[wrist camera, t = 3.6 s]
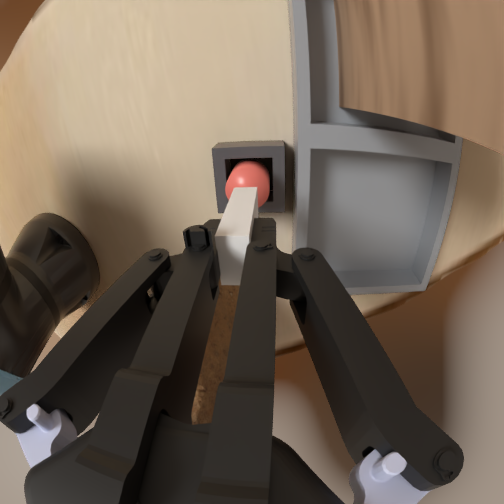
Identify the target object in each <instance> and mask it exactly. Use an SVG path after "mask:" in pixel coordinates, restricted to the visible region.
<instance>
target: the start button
mask: <svg viewBox="0 0 504 504" xmlns="http://www.w3.org/2000/svg"><path fill="white" fill-rule="evenodd" d="M269 181H270V176H269V172H268V169H267V168H266V166H265V165H264V164H263V163H262V162H260V161H258V160H255V159H246V160H242V161H240V162H239V163H237V164H236V165H235V167H234V168H233V170H232V172H231V174H230V176H229V178H228V180H227V182H226V186H225V192H226V196H227V198H228V200H229V199H230V197H231V194H232V192H233V189H234V188H235V187H257V192H258V208H259V207H260V206H262V205H263V204H264V203H265V202H266V200H267V198H268V196H269Z"/></svg>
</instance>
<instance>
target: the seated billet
mask: <svg viewBox="0 0 504 504" xmlns="http://www.w3.org/2000/svg"><path fill="white" fill-rule="evenodd" d="M334 10H335V20H336V32H337V48H338V70H339V107H345V108H351V109H357V110H362V111H368V112H373V113H378V114H382V115H387V116H391V117H395V118H400V119H404V120H407V121H411V122H415V123H418V124H422V125H425V126H429V127H432V128H435V129H438V130H442V131H445V132H448V133H450V134H453V135H456V136H459V137H462V138H464V139H467V140H470V141H472V142H475V143H477V144H479V145H482V146H484V147H487V148H489V149H491V150H493V151H496V152H498V153H500V154H502V155H504V0H334Z"/></svg>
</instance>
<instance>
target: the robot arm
mask: <svg viewBox="0 0 504 504" xmlns="http://www.w3.org/2000/svg"><path fill="white" fill-rule="evenodd" d="M183 236H184V241H185V247H186V248H185V250H184V252H183V254H179V255H174V256H169V252H168V251H167V250H165V249H159V248H158V249H153V250H151V251H148V252H147V253H146V254H144V255H143V256H142V257H141V258H140V259H139V260H138V261H137V262H136V263H135V264H134V265H132V266H131V267H130V268H129V269H128V270H127V271H126V272H125V273H124V274H123V275H122V276H121V277H120V278H119V279H118V280H117V281H116V282H115V283H114V284H113V285H112V286H111V287H110V288H109V289H108V290H107V291H106V292H105V293H104V294H103V295H102V296H101V297H100V298H99V299H98V300H97V301H96V302H95V303H94V304H93V305H92V306H91V307H90V308H89V309H88V310H87V311H86V312H85V313H84V314H83V316H82V317H81V318H80V319H79V320H78V321H77V322H76V323H75V324H74V325H73V326H72V327H71V328H70V330H69V331H68V332H67V333H66V334H65V335H64V336H63V337H62V338H61V340H60V341H59V342H58V343H57V344H56V345H55V346H54V348H53V349H52V350H51V351H50V352H49V353H48V355H47V356H46V357H45V358H44V359H43V361H42V362H41V363H40V364H39V365H38V367H37V368H36V369H35V370H34V371H33V372H32V373H30V372H31V370H32V368H33V367H34V365H35V363H36V361H37V359H38V357H39V356H40V354H41V352H42V350H43V349H44V347H45V345H46V343H47V341H48V340H49V338H50V337H51V335H52V333H53V332H54V330H55V329H56V327H57V326H58V324H59V323H60V321H61V320H62V319H64V318H65V317H67V316H68V315H70V314H71V313H73V312H74V311H75V310H77V309H78V308H80V307H81V306H83V305H84V304H86V303H87V302H88V301H89V300H90V299H91V297H92V296H93V294H94V293H95V291H96V290H97V288H98V285H99V269H98V265H97V262H96V259H95V256H94V254H93V252H92V250H91V248H90V247H89V245H88V243H87V242H86V240H85V239H84V238H83V236H82V235H81V234H80V233H79V232H78V230H77V229H76V228H75V227H74V226H72V225H71V224H70V223H69V222H68V221H66V220H65V219H63V218H61V217H59V216H57V215H55V214H51V213H42V214H39V215H37V216H35V217H34V218H33V219H31V220H30V221H29V222H28V223H27V224H26V225H25V226H24V227H23V229H22V230H21V232H20V234H19V235H18V237H17V239H16V241H15V243H14V244H13V246H12V248H11V250H10V252H9V254H8V256H7V257H6V258H5V257H4V254H3V252H2V249H1V246H0V421H1V422H2V423H3V424H4V425H6V426H7V427H8V428H10V429H11V430H12V431H13V432H14V433H16V435H17V438H18V440H19V442H20V445H21V448H22V450H23V452H24V454H25V456H26V459H27V461H28V463H29V465H30V467H31V469H30V471H29V472H28V474H27V476H26V479H25V484H24V490H25V491H24V492H25V497H26V503H27V504H344V502H342V501H341V500H340V499H339V498H338V497H337V496H336V495H335V494H334V493H333V492H332V491H331V490H330V489H329V488H328V487H327V485H326V484H325V483H324V482H323V481H322V480H321V479H320V478H319V477H318V476H317V475H316V474H315V473H314V472H313V471H312V470H311V469H310V467H309V466H308V465H307V464H306V463H305V462H304V461H303V460H302V459H301V458H300V456H299V455H298V454H297V453H296V452H295V451H294V450H293V449H292V448H291V447H290V446H289V445H288V444H286V443H285V442H283V441H282V440H280V439H278V438H276V437H275V436H272V427H273V403H274V374H275V372H274V371H275V334H276V296H277V297H281V298H285V299H289V300H290V305H291V308H292V310H293V313H294V315H295V318H296V320H297V323H298V325H299V328H300V330H301V333H302V335H303V338H304V340H305V343H306V345H307V348H308V350H309V353H310V355H311V358H312V361H313V363H314V365H315V368H316V371H317V373H318V376H319V378H320V381H321V384H322V386H323V389H324V391H325V393H326V397H327V399H328V402H329V404H330V407H331V410H332V412H333V415H334V417H335V420H336V423H337V425H338V428H339V431H340V433H341V436H342V439H343V441H344V443H345V446H346V448H347V450H348V452H349V454H350V455H351V457H352V459H353V460H354V462H355V463H356V465H355V466H354V468H353V469H352V471H351V472H350V476H349V484H350V486H351V489H352V491H353V493H354V503H353V504H417V503H418V502H419V501H420V500H421V499H422V498H423V497H424V496H425V495H426V494H427V493H428V492H429V491H431V490H433V489H435V488H438V487H440V486H443V485H445V484H448V483H450V482H452V481H453V480H454V479H455V478H456V477H457V476H458V475H459V473H460V471H461V469H462V467H463V462H464V456H463V452H462V449H461V448H460V447H459V445H458V444H457V443H456V442H455V441H454V440H452V439H451V438H450V437H449V436H448V435H447V434H446V433H445V432H443V430H441V429H440V428H439V427H438V426H437V425H436V424H435V423H434V422H433V421H431V420H430V419H429V418H428V417H427V416H426V415H425V414H424V413H423V412H422V411H421V410H419V409H418V408H417V407H416V405H415V404H414V402H413V400H412V398H411V396H410V395H409V393H408V391H407V389H406V387H405V385H404V383H403V382H402V380H401V378H400V376H399V375H398V373H397V371H396V369H395V368H394V366H393V364H392V363H391V361H390V359H389V357H388V356H387V354H386V352H385V351H384V349H383V347H382V346H381V344H380V342H379V341H378V339H377V337H376V336H375V334H374V333H373V331H372V329H371V328H370V326H369V324H368V323H367V321H366V320H365V318H364V317H363V315H362V313H361V312H360V310H359V309H358V307H357V306H356V304H355V302H354V301H353V299H352V298H351V296H350V295H349V293H348V292H347V290H346V289H345V287H344V286H343V284H342V283H341V281H340V280H339V278H338V277H337V275H336V274H335V272H334V271H333V269H332V268H331V266H330V265H329V264H328V262H327V261H326V259H325V258H324V256H323V255H322V253H320V252H319V251H318V250H316V249H314V248H309V247H306V248H299V249H296V250H295V251H293V253H292V255H291V254H287V253H284V252H281V251H280V250H279V249H278V248H277V246H276V222H275V220H274V219H273V218H258V192H257V187H235V188H234V189H233V192H232V194H231V197H230V199H229V202H228V204H227V206H226V209H225V211H224V214H223V216H222V219H211V220H209V221H207V222H206V223H205V224H204V225H195V226H191V227H189V228H187V229H185V230H184V231H183ZM219 279H221V285H240V288H239V293H238V299H237V305H236V311H235V316H234V322H233V328H232V334H231V340H230V345H229V351H228V357H227V363H226V369H225V375H224V380H223V382H220V383H219V385H218V389H217V393H216V399H215V404H214V410H213V416H212V421H211V423H205V424H194V425H192V417H191V414H192V407H193V403H194V398H195V394H196V389H197V385H198V380H199V376H200V372H201V367H202V363H203V359H204V354H205V350H206V346H207V341H208V337H209V333H210V329H211V325H212V321H213V316H214V312H215V308H216V304H217V300H218V296H219V292H220V290H219ZM150 287H151V290H152V294H151V295H150V296H148V293H147V291H148V290H149V288H150ZM99 412H100V413H99ZM98 413H99V415H98ZM97 415H98V418H97V421H96V423H95V426H94V427H93V428H92V429H90V430H89V431H87V432H86V433H84V434H83V435H81V436H80V437H77V436H78V435H79V434H80V433H82V432H83V431H84V430H85V429H86V428H87V427H88V426H89V425H90V424H91V423H92V421H93V420H94V419H95V417H96V416H97Z"/></svg>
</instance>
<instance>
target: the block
mask: <svg viewBox="0 0 504 504" xmlns="http://www.w3.org/2000/svg"><path fill="white" fill-rule="evenodd" d="M239 288H240V285H221V279H219V290H220V292H219V296H218V300H217V304H216V308H215V312H214V316H213V321H212V325H211V329H210V333H209V337H208V341H207V346H206V350H205V354H204V359H203V363H202V367H201V372H200V376H199V380H198V385H197V389H196V394H195V398H194V403H193V407H192V414H191V417H192V425H194V424H205V423H211V421H212V416H213V410H214V404H215V399H216V393H217V389H218V385H219V383H220V382H223V380H224V375H225V369H226V363H227V357H228V351H229V345H230V340H231V334H232V328H233V322H234V316H235V311H236V305H237V299H238V293H239Z"/></svg>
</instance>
